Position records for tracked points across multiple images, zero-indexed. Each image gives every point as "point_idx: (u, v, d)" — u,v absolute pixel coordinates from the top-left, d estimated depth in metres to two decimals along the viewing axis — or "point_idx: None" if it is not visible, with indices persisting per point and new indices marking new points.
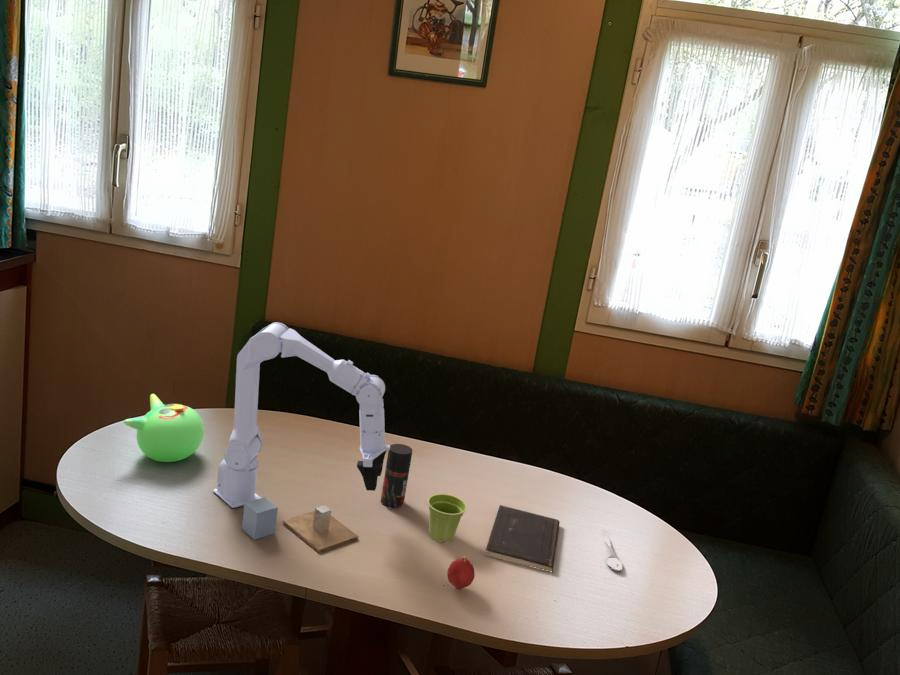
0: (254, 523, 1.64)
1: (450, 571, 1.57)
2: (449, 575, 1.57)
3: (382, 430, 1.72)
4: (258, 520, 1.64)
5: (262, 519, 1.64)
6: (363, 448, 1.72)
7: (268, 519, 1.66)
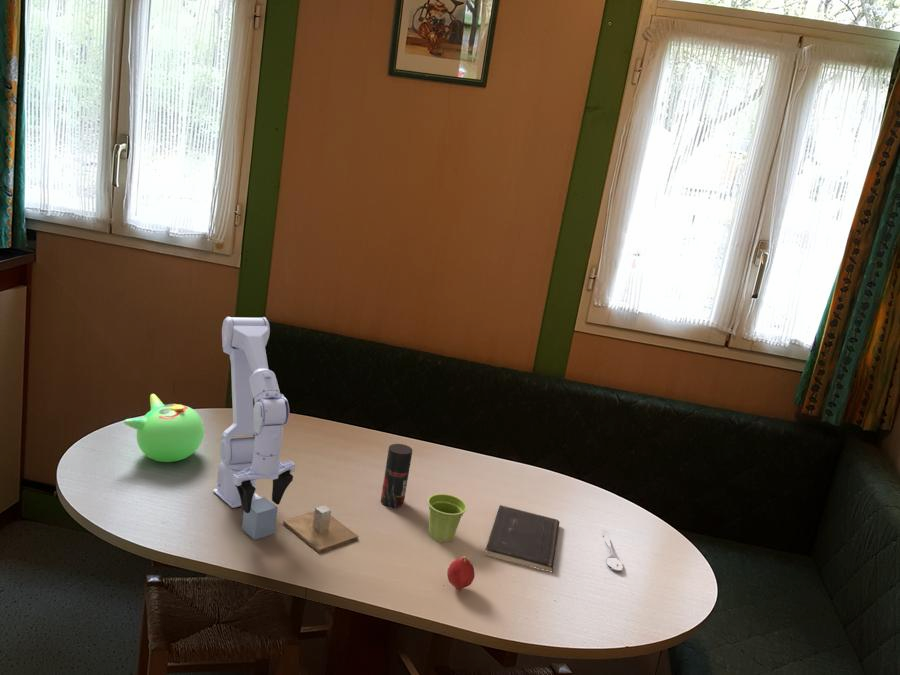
0: (254, 523, 1.64)
1: (450, 571, 1.57)
2: (449, 575, 1.57)
3: (269, 456, 1.60)
4: (258, 520, 1.64)
5: (262, 519, 1.64)
6: (252, 466, 1.63)
7: (268, 519, 1.66)
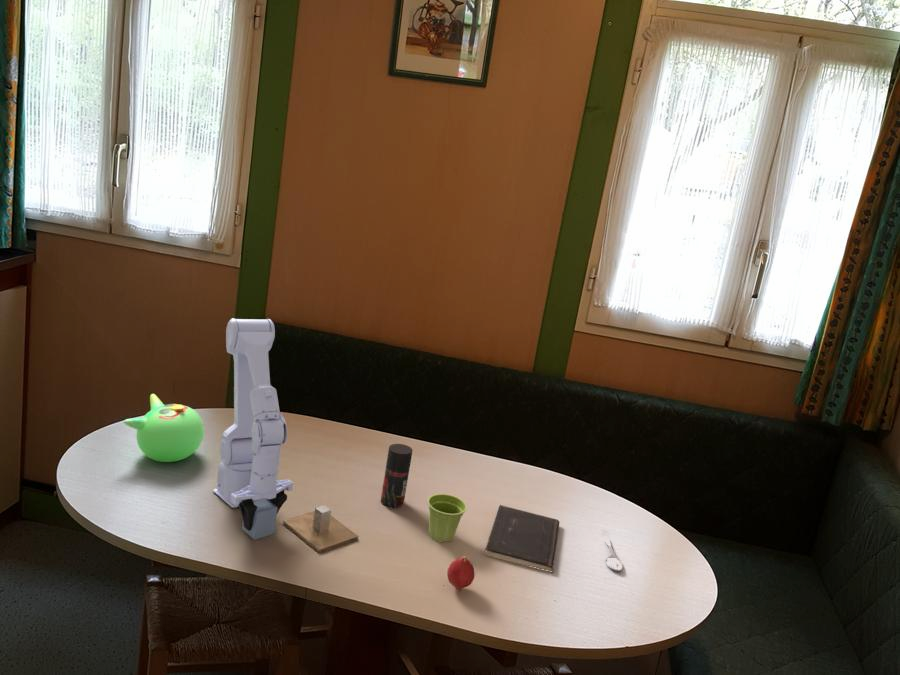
0: (254, 523, 1.64)
1: (450, 571, 1.57)
2: (449, 575, 1.57)
3: (267, 475, 1.61)
4: (258, 520, 1.64)
5: (262, 519, 1.64)
6: (250, 485, 1.65)
7: (268, 519, 1.66)
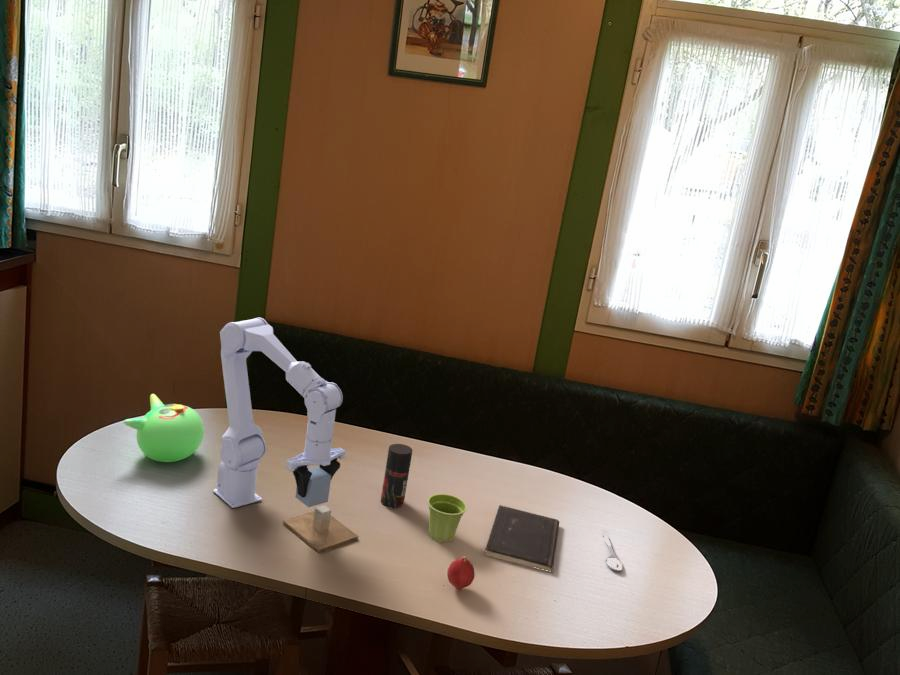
0: (309, 491, 1.65)
1: (450, 571, 1.57)
2: (449, 575, 1.57)
3: (321, 442, 1.62)
4: (313, 487, 1.64)
5: (316, 487, 1.65)
6: (304, 452, 1.65)
7: (322, 487, 1.66)
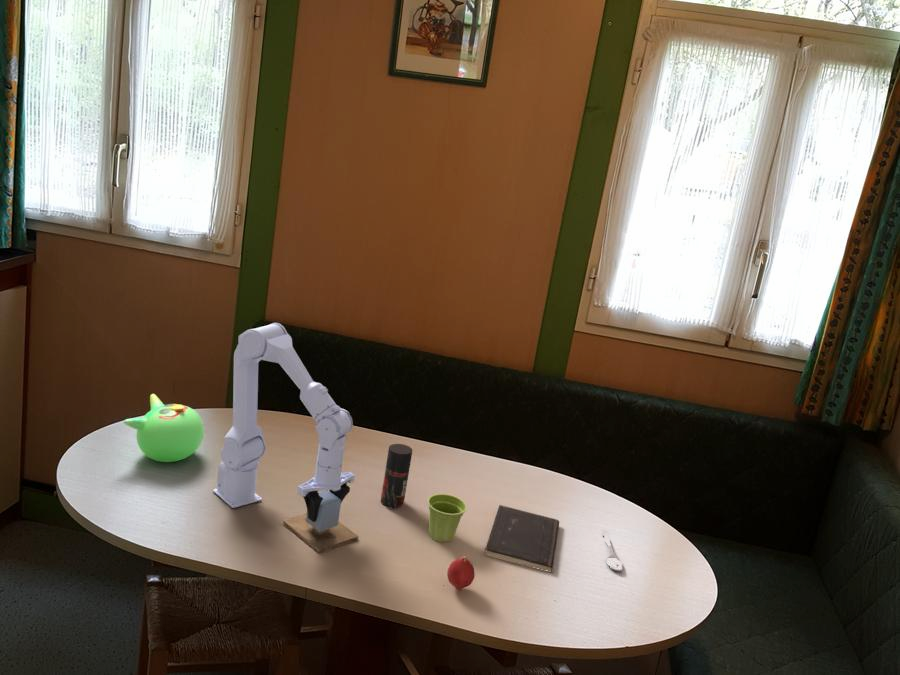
0: (319, 515, 1.67)
1: (450, 571, 1.57)
2: (449, 575, 1.57)
3: (332, 468, 1.65)
4: (323, 512, 1.67)
5: (327, 511, 1.68)
6: (314, 477, 1.68)
7: (332, 511, 1.69)
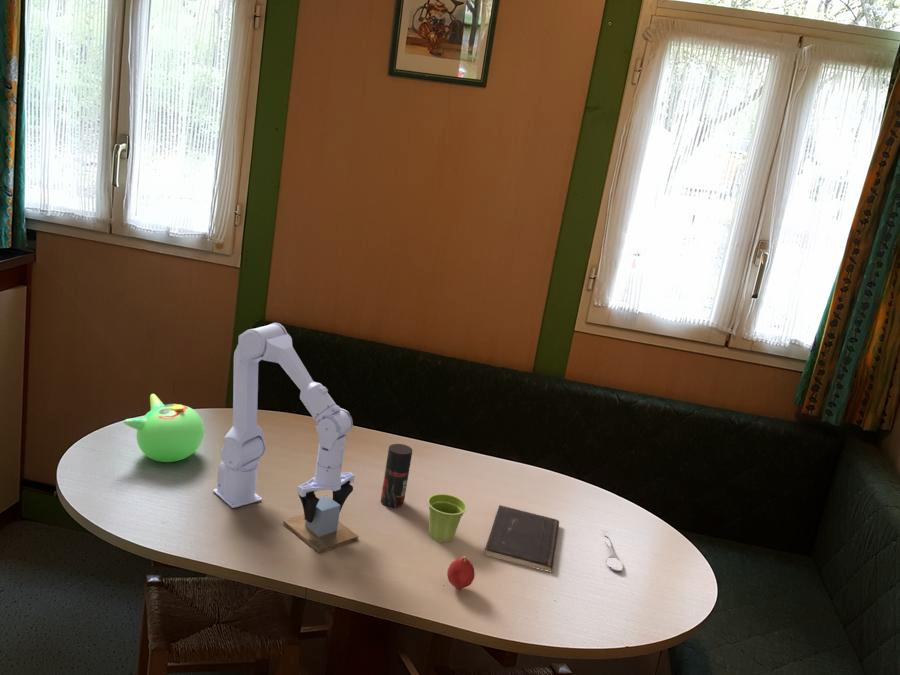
0: (318, 521, 1.68)
1: (450, 571, 1.57)
2: (449, 575, 1.57)
3: (332, 468, 1.65)
4: (322, 518, 1.67)
5: (326, 517, 1.68)
6: (314, 477, 1.68)
7: (331, 517, 1.69)
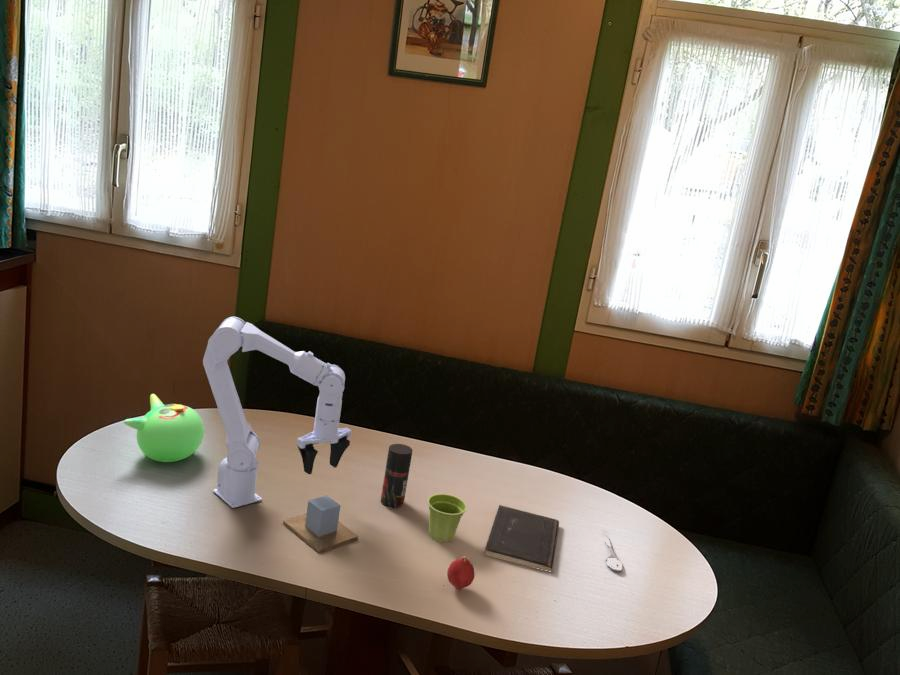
0: (318, 521, 1.68)
1: (450, 571, 1.57)
2: (449, 575, 1.57)
3: (330, 421, 1.74)
4: (322, 518, 1.67)
5: (326, 517, 1.68)
6: (313, 431, 1.77)
7: (331, 517, 1.69)
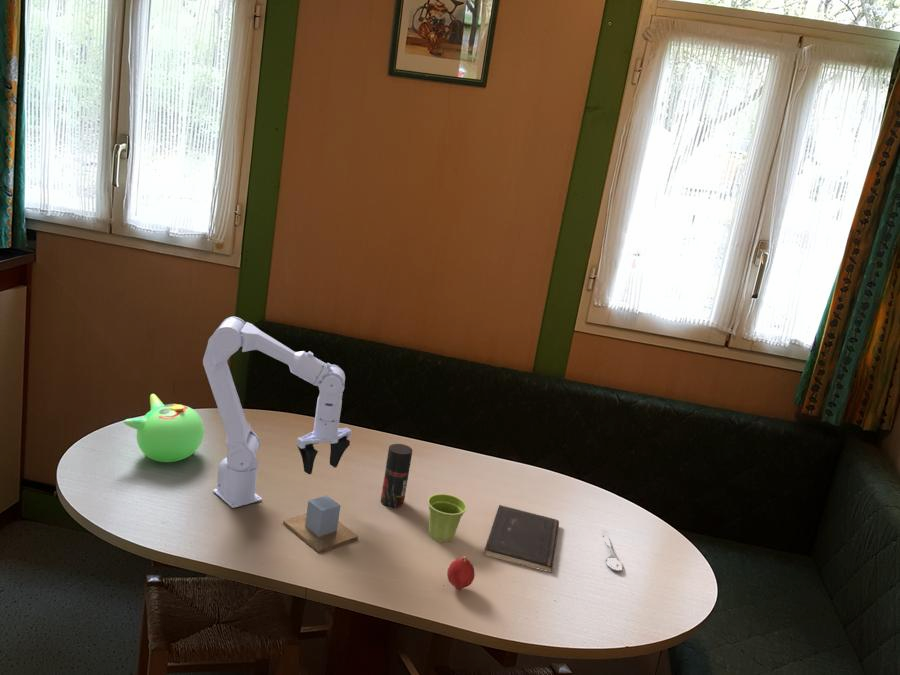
0: (318, 521, 1.68)
1: (450, 571, 1.57)
2: (449, 575, 1.57)
3: (330, 421, 1.74)
4: (322, 518, 1.67)
5: (326, 517, 1.68)
6: (313, 431, 1.77)
7: (331, 517, 1.69)
